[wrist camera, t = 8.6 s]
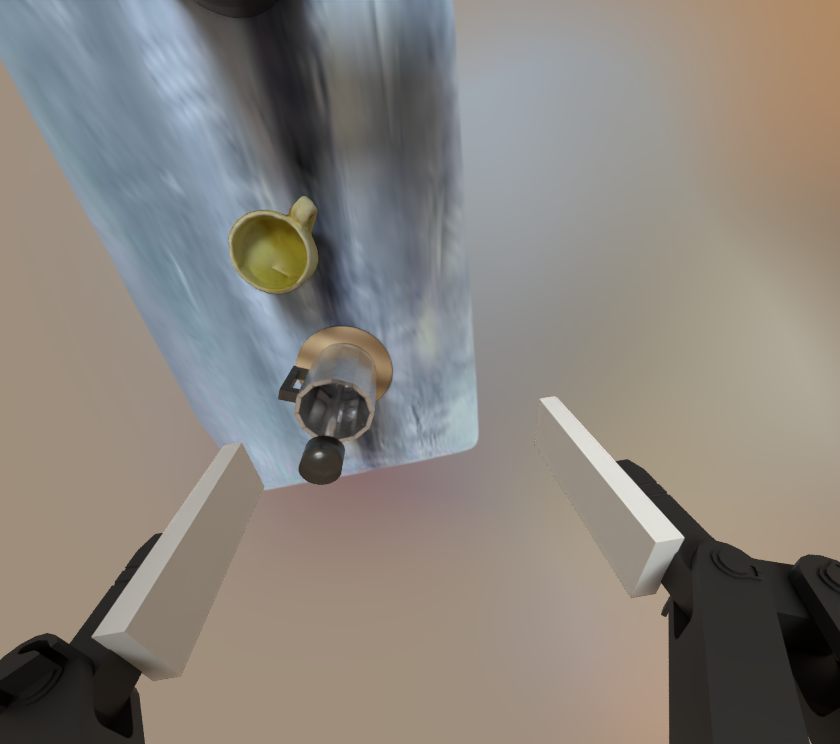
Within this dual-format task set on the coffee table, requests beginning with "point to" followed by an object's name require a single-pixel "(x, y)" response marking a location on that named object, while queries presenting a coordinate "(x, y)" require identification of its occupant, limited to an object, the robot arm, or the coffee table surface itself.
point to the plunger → (326, 443)
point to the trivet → (352, 337)
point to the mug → (275, 247)
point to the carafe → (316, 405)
